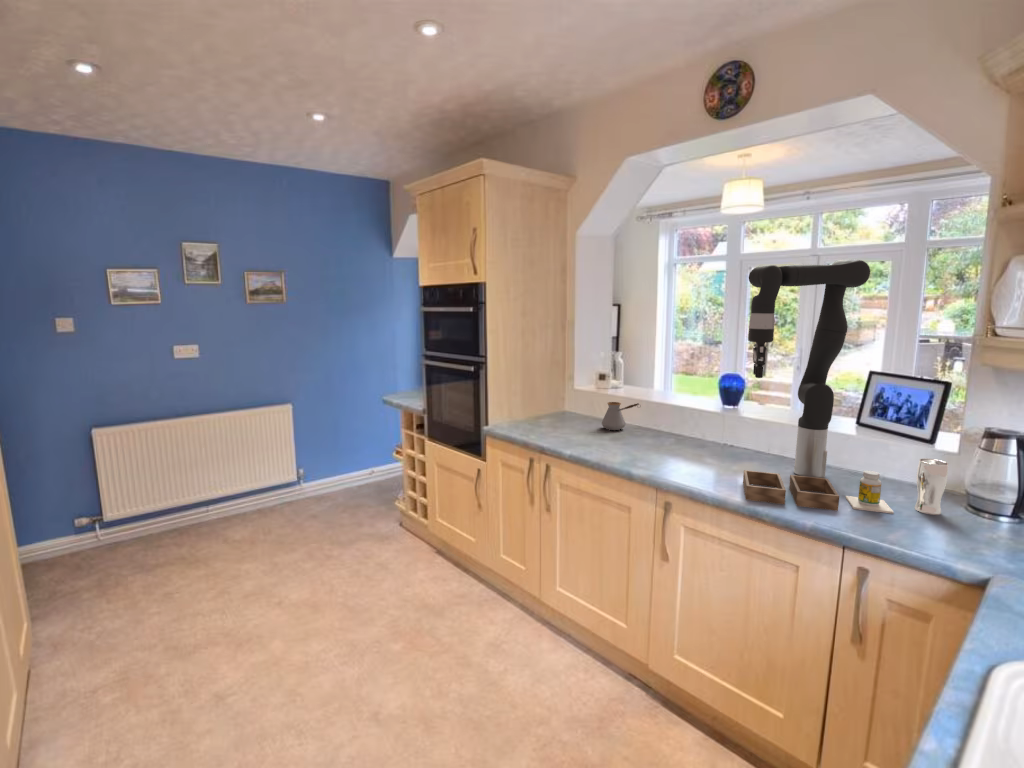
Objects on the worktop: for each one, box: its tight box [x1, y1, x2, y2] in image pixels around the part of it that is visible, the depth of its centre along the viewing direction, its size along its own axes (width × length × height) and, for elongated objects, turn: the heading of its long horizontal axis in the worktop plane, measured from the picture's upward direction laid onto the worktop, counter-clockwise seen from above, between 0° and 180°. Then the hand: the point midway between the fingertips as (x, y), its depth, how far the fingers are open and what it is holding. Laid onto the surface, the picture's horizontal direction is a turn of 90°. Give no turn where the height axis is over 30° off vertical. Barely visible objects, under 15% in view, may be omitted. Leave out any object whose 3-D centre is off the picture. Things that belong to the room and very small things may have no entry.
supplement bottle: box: [857, 470, 882, 506], centre depth 158 cm, size 5×5×10 cm
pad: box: [845, 495, 895, 515], centre depth 159 cm, size 10×10×1 cm
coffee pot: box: [601, 401, 641, 431], centre depth 251 cm, size 21×12×15 cm, turn 36°
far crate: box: [742, 469, 787, 505], centre depth 169 cm, size 11×17×4 cm, turn 159°
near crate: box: [788, 474, 840, 512], centre depth 164 cm, size 11×17×4 cm, turn 159°
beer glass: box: [914, 458, 949, 516], centre depth 154 cm, size 7×7×15 cm
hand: (757, 376), depth 176 cm, fingers open, 8 cm apart
